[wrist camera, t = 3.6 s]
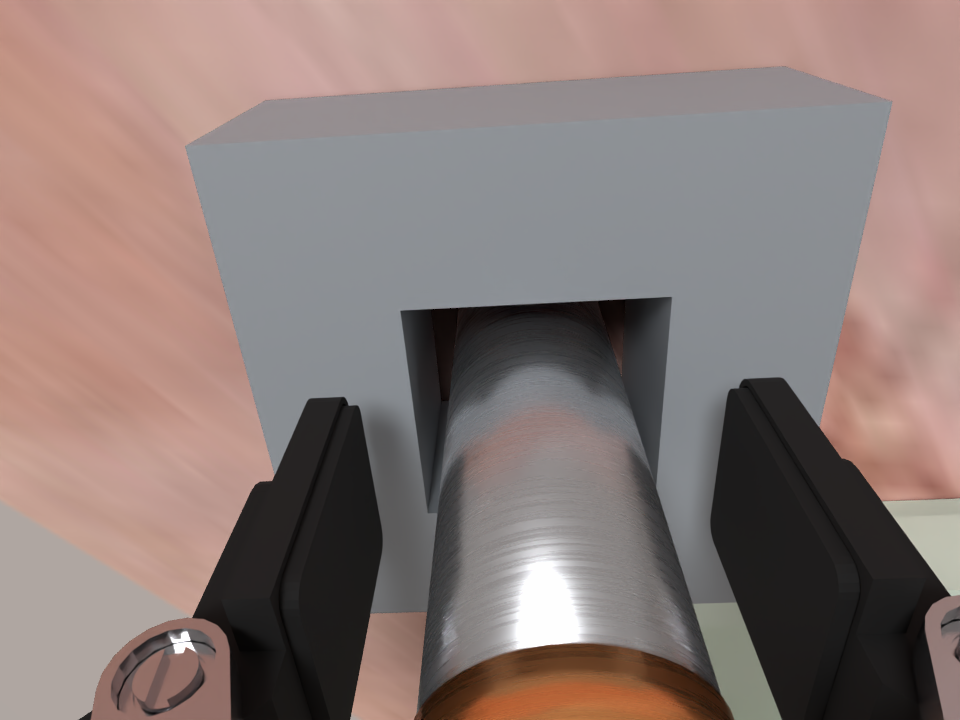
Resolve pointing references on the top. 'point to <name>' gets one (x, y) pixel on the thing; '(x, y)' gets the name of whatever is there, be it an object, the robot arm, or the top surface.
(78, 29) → the top surface
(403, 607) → the socket block
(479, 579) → the pin
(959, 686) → the robot arm
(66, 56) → the top surface
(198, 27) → the top surface
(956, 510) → the tray
